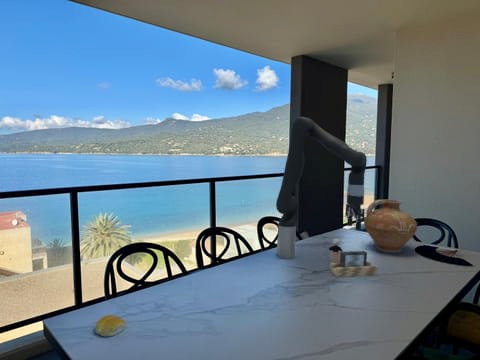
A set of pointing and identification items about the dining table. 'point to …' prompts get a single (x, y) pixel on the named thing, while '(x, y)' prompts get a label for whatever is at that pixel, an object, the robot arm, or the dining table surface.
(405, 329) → the dining table surface
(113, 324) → the bread roll
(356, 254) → the dark grey block
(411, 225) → the jug
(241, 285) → the dining table surface
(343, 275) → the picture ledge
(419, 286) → the dining table surface
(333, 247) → the grandmother figurine
